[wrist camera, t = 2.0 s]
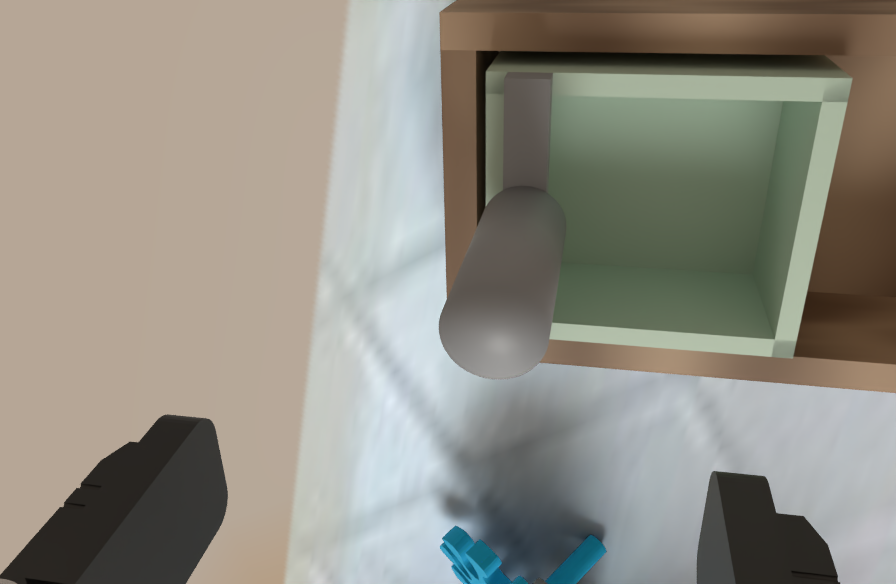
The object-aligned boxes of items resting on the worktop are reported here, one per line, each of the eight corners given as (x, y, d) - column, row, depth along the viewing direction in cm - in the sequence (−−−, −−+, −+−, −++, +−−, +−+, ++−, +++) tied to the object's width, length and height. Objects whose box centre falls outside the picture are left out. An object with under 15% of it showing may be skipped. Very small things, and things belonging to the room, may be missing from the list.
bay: (1175, -12, 22) (1322, 16, 18) (1047, 322, 27) (1136, 413, 23) (472, -12, 26) (439, 12, 21) (474, 283, 31) (448, 354, 26)
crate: (810, 42, 24) (954, 163, 13) (765, 283, 27) (851, 521, 17) (508, 39, 25) (433, 144, 15) (505, 266, 29) (443, 475, 19)
